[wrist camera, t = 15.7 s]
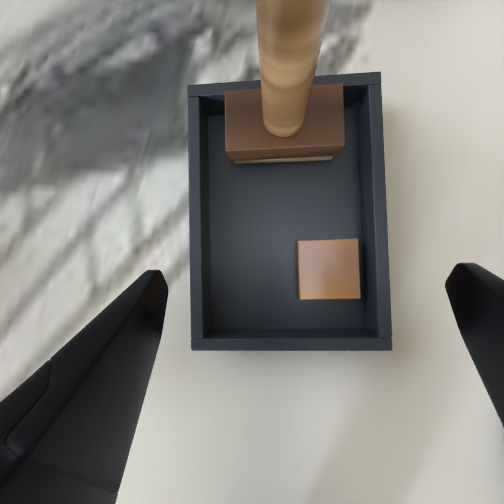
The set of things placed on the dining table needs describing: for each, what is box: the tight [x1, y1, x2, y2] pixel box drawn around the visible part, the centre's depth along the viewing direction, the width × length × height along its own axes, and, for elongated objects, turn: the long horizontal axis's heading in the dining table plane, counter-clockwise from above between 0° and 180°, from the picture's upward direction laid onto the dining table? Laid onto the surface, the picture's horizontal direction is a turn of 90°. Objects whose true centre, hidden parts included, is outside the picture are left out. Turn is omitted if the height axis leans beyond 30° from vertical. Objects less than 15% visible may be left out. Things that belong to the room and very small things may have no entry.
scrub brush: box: [225, 0, 345, 164], centre depth 14 cm, size 4×8×13 cm, turn 91°
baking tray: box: [187, 72, 392, 351], centre depth 19 cm, size 18×13×3 cm
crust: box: [296, 239, 361, 300], centre depth 19 cm, size 4×4×1 cm
